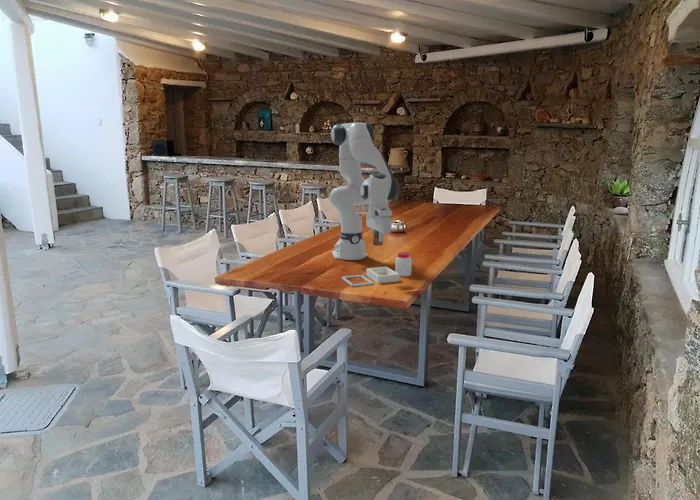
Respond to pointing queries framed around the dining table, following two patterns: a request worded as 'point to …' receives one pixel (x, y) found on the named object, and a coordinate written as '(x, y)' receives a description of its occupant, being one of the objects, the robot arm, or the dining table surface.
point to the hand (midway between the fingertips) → (377, 240)
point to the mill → (376, 238)
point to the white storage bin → (382, 274)
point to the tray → (357, 284)
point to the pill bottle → (403, 264)
